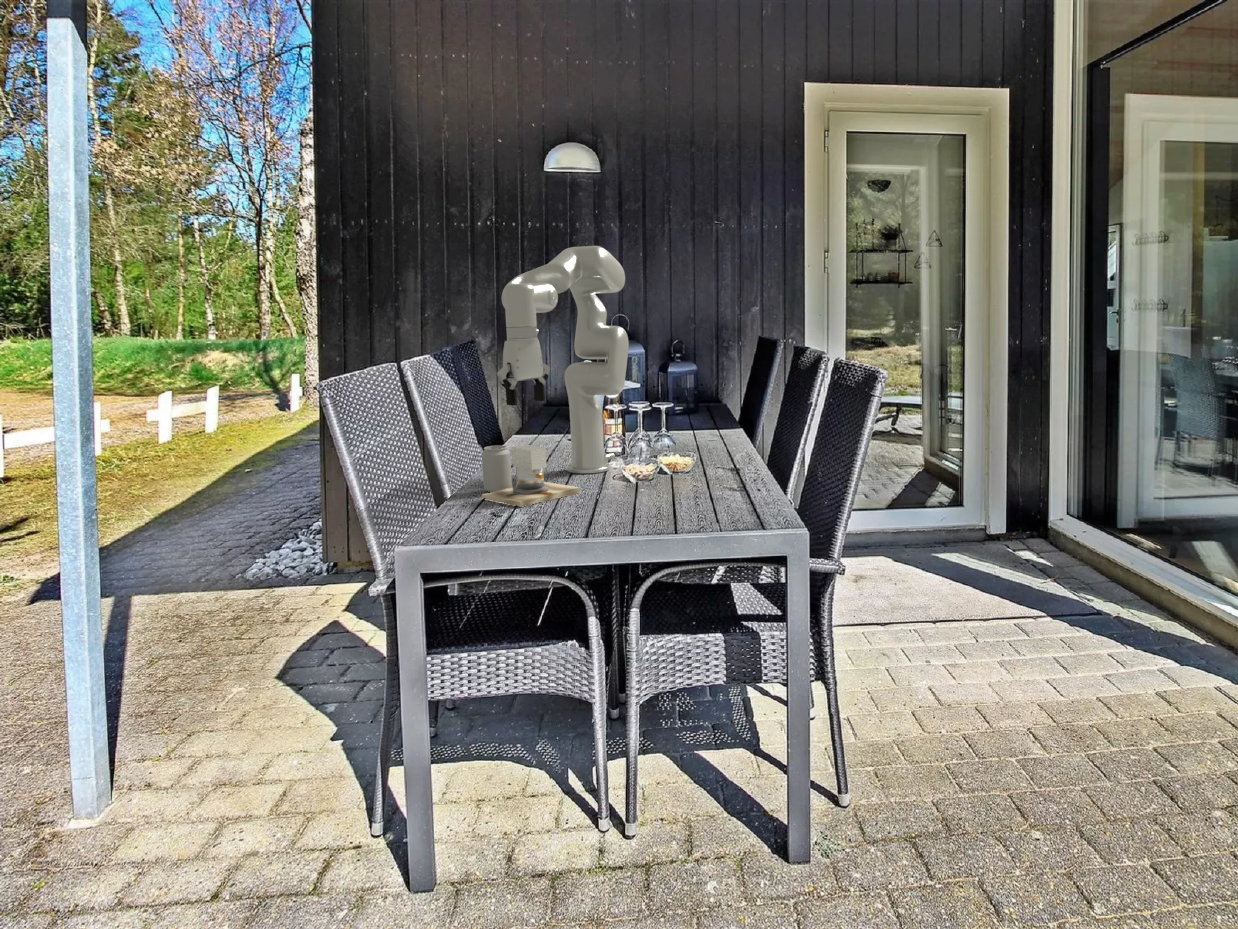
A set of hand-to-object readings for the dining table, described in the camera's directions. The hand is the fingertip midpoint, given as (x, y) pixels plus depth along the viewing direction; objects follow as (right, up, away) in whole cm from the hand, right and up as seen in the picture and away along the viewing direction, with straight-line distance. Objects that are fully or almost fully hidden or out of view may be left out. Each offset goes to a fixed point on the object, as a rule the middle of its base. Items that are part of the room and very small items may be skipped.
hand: (526, 402), depth 220 cm
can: (-9, -23, +13) cm, 28 cm away
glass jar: (+1, -21, +4) cm, 22 cm away
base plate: (+1, -24, +4) cm, 24 cm away
